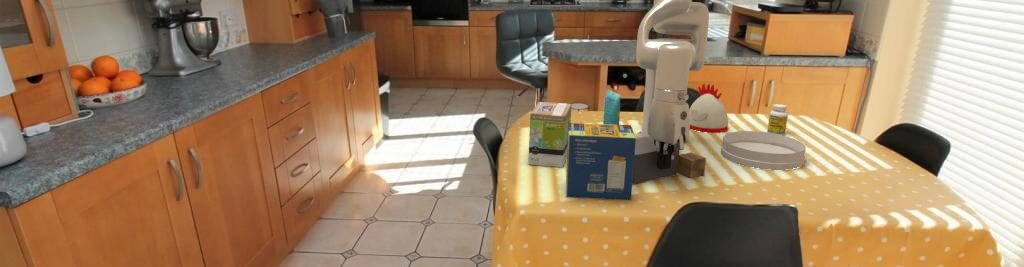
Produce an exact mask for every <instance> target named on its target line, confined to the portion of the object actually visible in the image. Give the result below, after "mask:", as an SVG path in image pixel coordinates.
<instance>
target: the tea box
mask: <svg viewBox="0 0 1024 267" xmlns="http://www.w3.org/2000/svg"><path fill="white" fill-rule="evenodd" d="M571 117H572V104H571V103H563V102H561V103H560V102H548V101H538V102H537V104H536V105H535V107H534V108H533V109H532V111H530V114H529V136H528V137H529V141H528V162H527V164H528V165H533V166H542V167H553V168H554V167H555V168H563V166H564V164H565V161H567V146H568V129H569V123H572V122H571V121H572V120H571V119H572V118H571Z"/></svg>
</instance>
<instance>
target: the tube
mask: <svg viewBox="0 0 1024 267" xmlns="http://www.w3.org/2000/svg"><path fill="white" fill-rule="evenodd" d="M621 96H622V94H619V93H617V92H614V91H612V90H609V89H606V92H605V101H604V110H603V111H604V112H603V121H602V124H610V125H620V118H621V116H620V115H621Z"/></svg>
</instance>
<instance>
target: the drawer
mask: <svg viewBox="0 0 1024 267" xmlns="http://www.w3.org/2000/svg"><path fill="white" fill-rule="evenodd" d="M680 152H681V150H676V151H675V152H674V153H673V154H672V158H671V167H670V168H669V169H664V170H661V169H659V168H657V157H658V152H657V151H656V150H651V151H646V152H641V153H635V156H634V168H633V181H632V185H637V184H642V183H646V182H650V181H655V180H660V179H664V178H669V177H672V176H677V175H678V174H677V171H678V161H679V155H680Z"/></svg>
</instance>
